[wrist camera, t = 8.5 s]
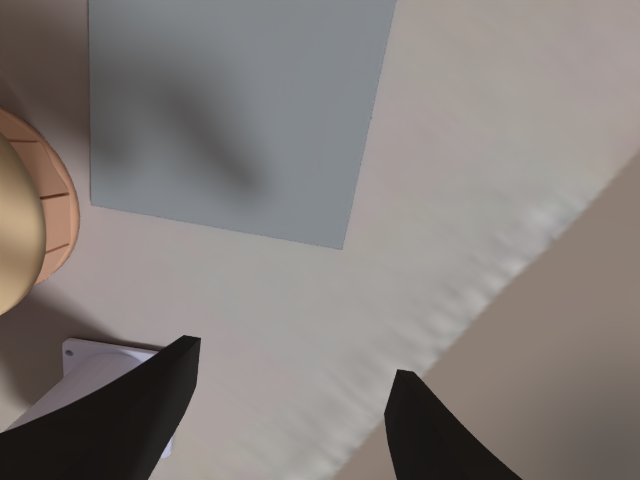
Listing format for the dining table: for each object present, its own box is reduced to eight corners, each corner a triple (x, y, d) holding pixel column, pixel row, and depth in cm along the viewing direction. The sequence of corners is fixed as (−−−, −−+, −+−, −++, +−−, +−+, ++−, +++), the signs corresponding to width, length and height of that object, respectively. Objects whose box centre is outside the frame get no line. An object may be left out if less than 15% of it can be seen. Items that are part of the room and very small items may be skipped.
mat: (341, 248, 21) (342, 249, 21) (95, 204, 20) (90, 205, 20) (403, -38, 17) (405, -42, 16) (92, -109, 16) (87, -116, 15)
